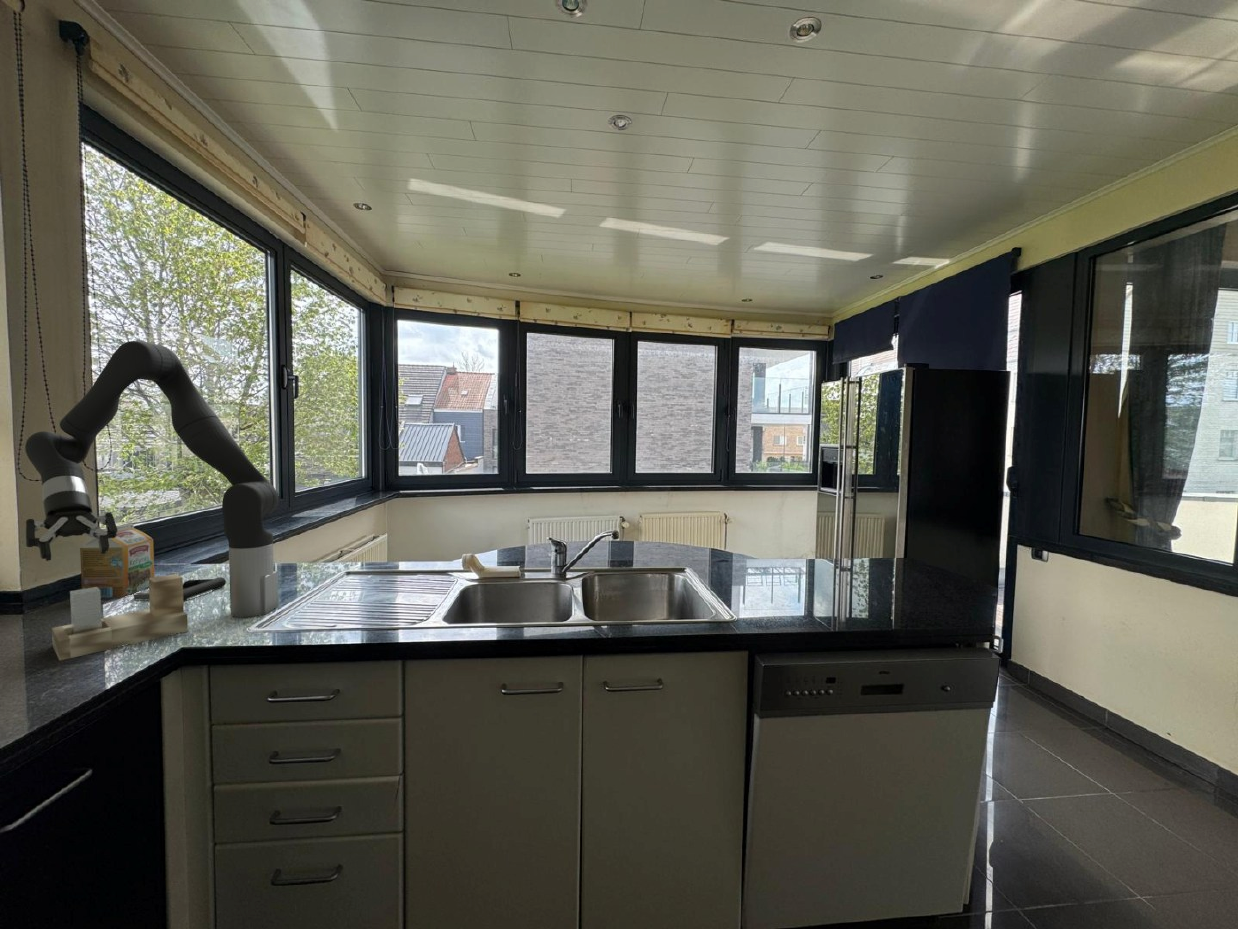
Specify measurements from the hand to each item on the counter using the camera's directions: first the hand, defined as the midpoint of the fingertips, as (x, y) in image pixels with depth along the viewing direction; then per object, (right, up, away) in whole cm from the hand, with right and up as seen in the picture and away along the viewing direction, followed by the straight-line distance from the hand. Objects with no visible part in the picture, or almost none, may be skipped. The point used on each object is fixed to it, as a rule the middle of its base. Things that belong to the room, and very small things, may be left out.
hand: (77, 555), depth 115 cm
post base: (+12, -18, -2) cm, 22 cm away
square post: (+9, -18, -6) cm, 21 cm away
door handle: (-2, -17, +28) cm, 33 cm away
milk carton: (-20, -16, +31) cm, 40 cm away
